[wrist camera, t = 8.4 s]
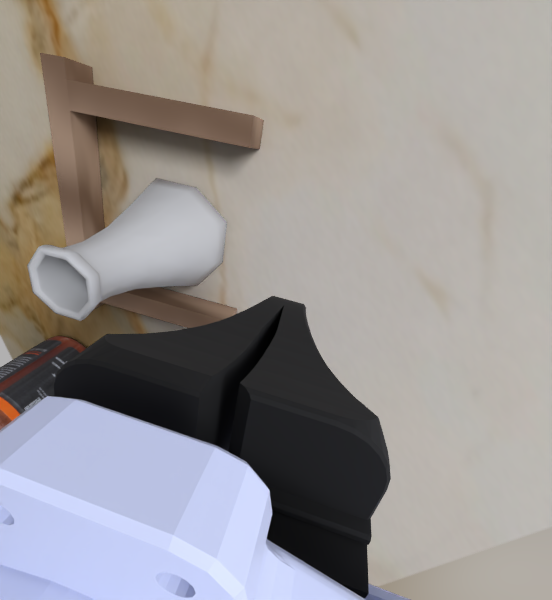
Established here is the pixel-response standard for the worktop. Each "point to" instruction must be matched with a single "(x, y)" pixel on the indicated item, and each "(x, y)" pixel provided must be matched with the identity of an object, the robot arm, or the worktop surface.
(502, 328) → the worktop surface
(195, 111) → the walnut bay
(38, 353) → the supplement bottle
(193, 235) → the flask
